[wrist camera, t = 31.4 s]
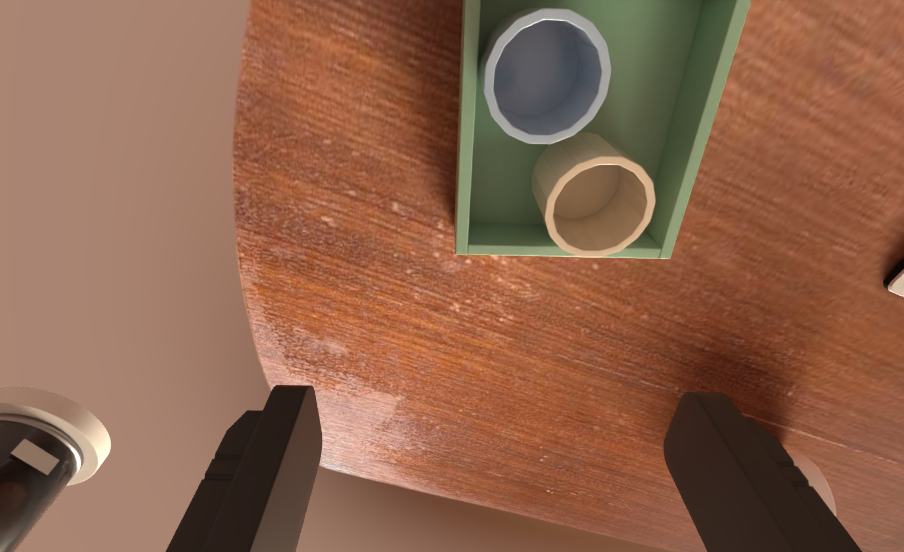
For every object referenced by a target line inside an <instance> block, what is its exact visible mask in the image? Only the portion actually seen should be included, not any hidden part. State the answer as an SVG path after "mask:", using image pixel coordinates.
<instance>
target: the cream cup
mask: <svg viewBox="0 0 904 552" xmlns="http://www.w3.org/2000/svg"><path fill="white" fill-rule="evenodd" d="M531 191H532V195H533V198H534V200H535V204H536V206H537V209H538V211H539V213H540V215H541V218H542V220H543V222H544V225H545V227H546V229H547V231H548V234H549V236H550V237H551V238H552V239H553V241H554V242H555V243H556V244H557V245H558V246H559V247H560V248H561V249H562V250H564V251H566V252H569V253H571V254H573V255H576V256H578V257H603V256H606V255H609V254H612V253H615V252H618V251H621V250H622V249H623V248H625V247H626V246H628V245H629V244H630V243H632V242H633V241H635V240H636V239H637V238H638V237H639V236H640V235H641V233H642V232H643V230H644V229H645V228H646V226H647V225H648V224H649V222H650V220H651V217H652V213H653V209H654V206H655V202H656V199H655V192H654V186H653V182H652V180H651V178H650V177H649V176H648V174H647V173H646V171H645V170H644V169H643V167H642V166H641V165H640V164H638V163H637V162H636V161H635V160H634V159H633V158H631V157H630V156H629V155H628V154H627V153H626V152H624V151H623V150H622V149H621V148H620V147H618V146H617V145H616V144H615V143H614V142H612V141H610V140H609V139H607V138H605V137H604V136H602V135H599V134H596V133H592V132H577V133H576V134H575V135H573V136H571V137H568V138H566V139H563V140H560V141H558V142H555V143H552V144H550V145H549V146H548V147H547V148H546V149H545V150H544V151H543V152H542V153H541V155H540V156H539V158H538V159H537V161H536V163H535V165H534V168H533V171H532V175H531Z"/></svg>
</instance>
